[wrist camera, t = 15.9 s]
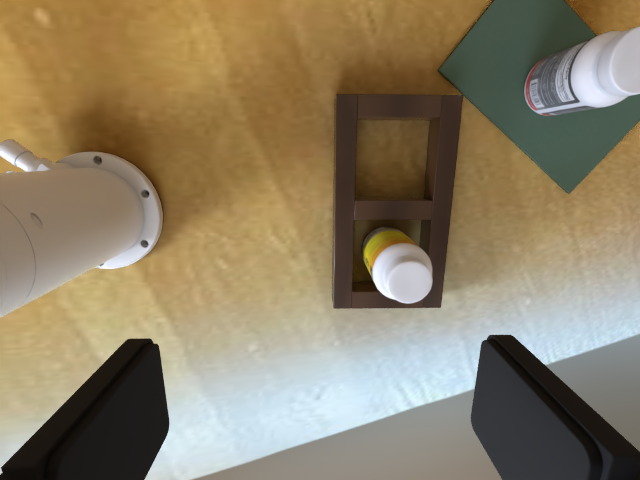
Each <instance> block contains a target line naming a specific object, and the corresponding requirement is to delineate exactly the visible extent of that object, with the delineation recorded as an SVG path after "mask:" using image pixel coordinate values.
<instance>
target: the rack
mask: <svg viewBox="0 0 640 480" xmlns="http://www.w3.org/2000/svg"><path fill="white" fill-rule="evenodd" d="M462 102H463V95H381V94H337V96H336V98H335V113H334V186H333V259H332V301H333V308H441V301H442V292H443V282H444V273H445V263H446V254H447V244H448V235H449V225H450V216H451V206H452V197H453V187H454V178H455V168H456V159H457V149H458V140H459V130H460V121H461V111H462ZM357 120H430V127H429V139H428V151H427V163H426V175H425V187H424V197H355V177H356V144H357ZM354 220H422V223H421V235H420V248H421V249H422V250H423V251H424V252H425V253H426V254H427V255H428V257H429V258H430V261H431V264H432V279H433V282H432V287H431V290H430V291H429V293H428V294H427V295H426V296H425V297H424V298H423V299H422V300H420V301H418V302H415V303H408V304H407V303H402V302H399V301H397V300H394V299H391V298H388V297H386V296H385V295H383V294H382V293H381V292H380V291H379V290H378V288H377V287H376V285H375V284H374V282H352V276H353V243H354Z"/></svg>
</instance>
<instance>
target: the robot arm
mask: <svg viewBox="0 0 640 480" xmlns="http://www.w3.org/2000/svg"><path fill="white" fill-rule="evenodd" d="M0 156H1V157H3V158H4V159H6V160H7V161H9V162H10V163H12V164H13V165H15V166H18V167H20V168H21V169H23V170H24V171H26V172H16V173H15V172H14V171H7V172H5V173H1V174H0V318H1V317H3V316H5V315H7V314H9V313H11V312H13V311H15V310H17V309H18V308H20V307H22V306H24V305H26V304H28V303H30V302H31V301H33V300H35V299H37V298H39V297H41V296H43V295H45V294H46V293H48V292H50V291H52V290H54V289H56V288H58V287H60V286H61V285H63V284H65V283H67V282H69V281H71V280H73V279H75V278H76V277H78V276H80V275H82V274H84V273H86V272H88V271H90V270H91V269H93V268H95V267H96V268H102V269H116V268H121V267H125V266H128V265H130V264H133V263H135V262H137V261H138V260H140V259H142V258H143V257H144V256H145V255H147V254H148V253H149V252H150V251H151V250H152V248H153V247H154V246H155V245H156V243H157V241H158V239H159V237H160V234H161V230H162V226H163V212H162V206H161V202H160V199H159V196H158V194H157V191H156V190H155V188H154V186H153V185H152V183H151V182H150V180H149V179H148V178H147V177H146V176H145V174H144V173H143V172H142V171H140V170H139V169H138V168H137V167H136V166H135V165H133V164H131V163H130V162H128V161H126V160H125V159H123V158H120V157H118V156H115V155H113V154H108V153H103V152H80V153H75V154H72V155H68V156H66V157H64V158H62V159H61V160H59V161H57V162H56V163H53V162H51V161H50V160H48V159H46V158H41V159H40V158H38V157H37V156H35V155H34V154H33V153H32V152H31V151H29V150H28V149H26V148H25V147H24V146H22V145H21V144H19V143H18V142H16V141H15V140H13V139H8V140H5V141H3V142H2V143H1V144H0ZM101 159H102V161H101ZM147 191H148V192H149V195H148V194H147ZM146 241H147V242H148V243H149V244H148V243H147V242H146ZM471 422H472V426H473V429H474V431H475V433H476V435H477V436H478V438H479V440H480V442H481V444H482V445H483V447H484V449H485V450H486V452H487V454H488V456H489V457H490V459H491V461H492V462H493V464H494V466H495V467H496V469H497V471H498V473H499V474H500V476H501V478H502V480H640V452H639V451H638V450H637V449H636V448H635V447H634V446H633V445H632V444H631V443H629V442H628V441H627V440H626V439H625V438H624V437H623V436H622V435H621V434H620V433H618V432H617V431H616V430H615V429H614V428H613V427H612V426H611V425H610V424H609V423H607V422H606V421H605V420H604V419H603V418H602V417H601V416H600V415H599V414H598V413H597V412H596V411H594V410H593V409H592V408H591V407H590V406H589V405H588V404H587V403H586V402H585V401H583V400H582V399H581V398H580V397H579V396H578V395H577V394H576V393H575V392H573V390H571V389H570V388H569V387H568V386H567V385H566V384H565V383H564V382H563V381H562V380H560V379H559V378H558V377H557V376H556V375H555V374H554V373H553V372H552V371H550V370H549V369H548V368H547V367H546V366H545V365H544V364H543V363H542V362H541V361H540V360H539V359H538V358H536V357H535V356H534V355H533V354H532V353H531V352H530V351H529V350H528V349H527V348H525V347H524V346H523V345H522V344H521V343H520V342H519V341H518V340H517V339H516V338H515V337H513V336H512V335H490V336H488V338H487V340H484V341H483V342H482V344H481V350H480V357H479V364H478V371H477V378H476V385H475V392H474V399H473V406H472V413H471ZM168 429H169V416H168V409H167V401H166V394H165V387H164V379H163V372H162V365H161V357H160V350H159V346H158V344H153V341H152V340H151V339H128V340H126V341H125V342H124V343H123V344H122V345H121V346H120V347H119V348H118V349H117V350H116V351H115V352H114V353H113V354H112V355H111V356H110V357H109V358H108V360H107V361H106V362H105V363H104V364H103V365H102V366H101V367H100V368H99V369H98V370H97V371H96V372H95V373H94V374H93V375H92V376H91V377H90V378H89V379H88V380H87V381H86V382H85V383H84V384H83V385H82V386H81V387H80V388H79V389H78V390H77V391H76V392H75V393H74V394H73V395H72V396H71V397H70V398H69V399H68V400H67V401H66V402H65V403H64V404H63V405H62V406H61V407H60V408H59V409H58V410H57V411H56V412H55V413H54V414H53V415H52V417H51V418H50V419H49V420H48V421H47V422H46V423H45V424H44V425H43V426H42V427H41V428H40V429H39V430H38V431H37V432H36V433H35V434H34V435H33V436H32V437H31V438H30V439H29V440H28V441H27V442H26V443H25V444H24V445H23V446H22V447H21V448H20V449H19V450H18V451H17V452H16V453H15V454H14V455H13V456H12V457H11V458H10V459H9V460H8V461H7V462H6V463H5V464H4V465H3V466H2V467H1V469H2V472H3V473H2V474H1V475H0V480H144V479H145V477H146V475H147V473H148V471H149V470H150V468H151V466H152V464H153V462H154V460H155V458H156V456H157V454H158V452H159V450H160V448H161V446H162V444H163V442H164V440H165V438H166V436H167V433H168Z"/></svg>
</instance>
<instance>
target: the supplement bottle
mask: <svg viewBox="0 0 640 480" xmlns="http://www.w3.org/2000/svg"><path fill="white" fill-rule="evenodd" d="M362 257H363V260H364V263H365V265H366V267H367V269H368V271H369V273H370V275H371V277H372V279H373V281H374V284H375V285H376V287H377V288H378V290H379V291H380V292H381V293H382V294H383V295H385V296H386V297H388V298H391V299H394V300H397V301H399V302H402V303H407V304H408V303H415V302H418V301H420V300H422V299H423V298H424V297H425V296H426V295H427V294H428V293H429V291H430V290H431V287H432V282H433V279H432V264H431V261H430V258H429V257H428V255H427V254H426V253H425V252H424V251H423V250H422V249H421V248H420V247H419V246H418V245H417V244H415V243H414V242H413V241H412V240H411V239H410V238H409V237H408V236H406V235H405V234H404V233H403V232H402V231H400V230H399V229H397V228H394V227H388V226H386V227H380V228H377V229H375V230H373V231H372V232H370V233H369V234H368V235H367V237H366V238H365V240H364V242H363V245H362Z"/></svg>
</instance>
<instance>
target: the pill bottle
mask: <svg viewBox="0 0 640 480" xmlns="http://www.w3.org/2000/svg"><path fill="white" fill-rule="evenodd" d="M637 94H640V26H638V27H635V28H632V29H629V30H626V31H611V32H607V33H604V34H601V35H598V36H596V37H593V38H591V39H588V40H586V41H584V42H581V43H579V44H576V45H574V46H572V47H569V48H567V49H564V50H562V51H559V52H557V53H555V54H552V55H550V56H548V57H546V58H544V59H542V60H541V61H539V62H538V63H537V64H536V65H535V66H534V67H533V68H532V69H531V71H530V72H529V74H528V76H527V79H526V82H525V86H524V95H525V99H526V102H527V104H528V106H529V107H530V108H531V109H532V110H533V111H534V112H536V113H538V114H541V115H545V116H552V115H559V114H565V113H571V112H577V111H583V110H590V109H596V108H602V107H607V106H611V105H614V104H616V103H618V102H620V101H622V100H624V99H625V98H627V97H628V96H632V95H637Z"/></svg>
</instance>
